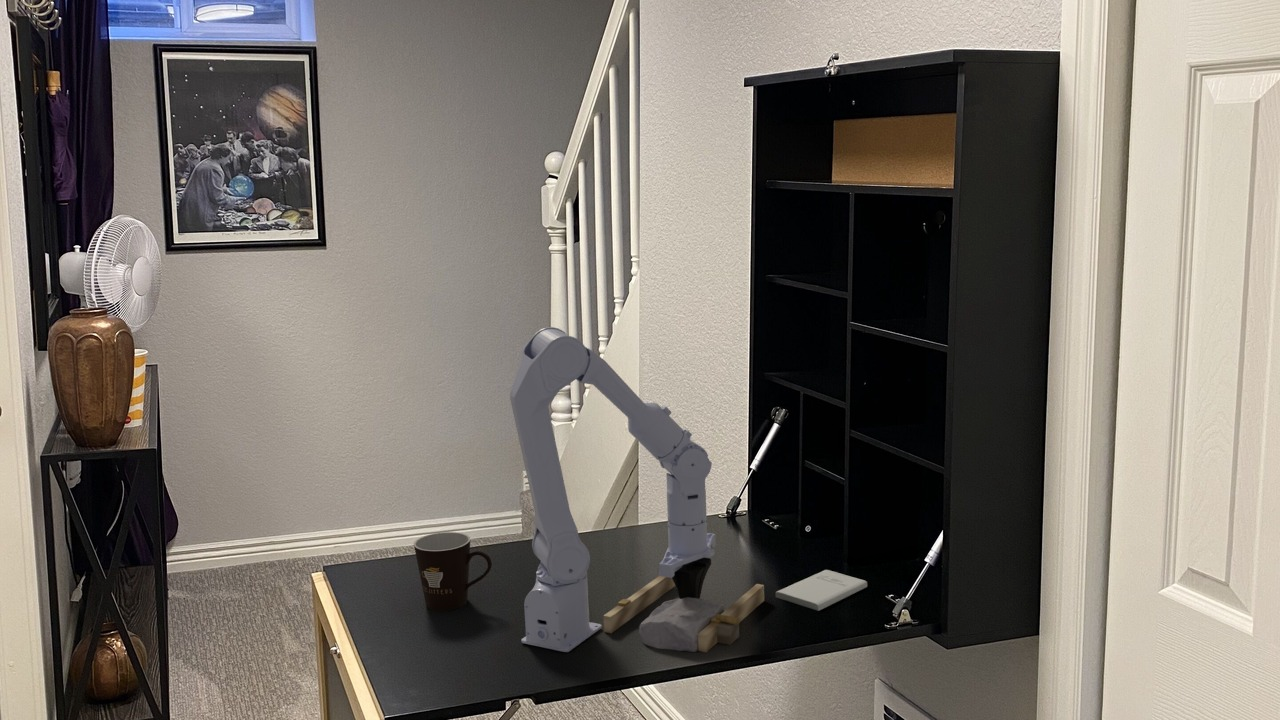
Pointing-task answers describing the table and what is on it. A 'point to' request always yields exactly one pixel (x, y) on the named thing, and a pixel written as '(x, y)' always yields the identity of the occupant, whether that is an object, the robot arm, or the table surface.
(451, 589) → the coffee mug
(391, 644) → the table surface
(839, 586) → the external hard drive
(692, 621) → the stone block
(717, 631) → the beam track
